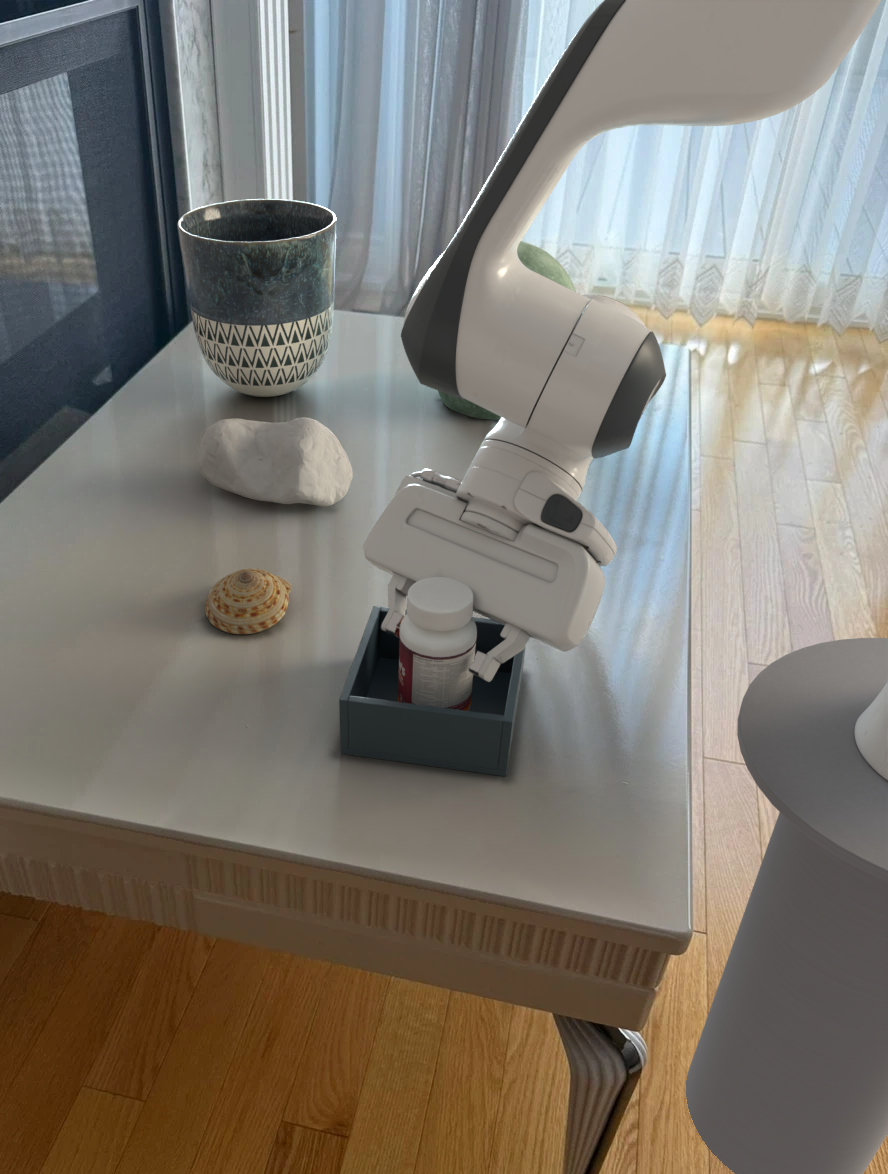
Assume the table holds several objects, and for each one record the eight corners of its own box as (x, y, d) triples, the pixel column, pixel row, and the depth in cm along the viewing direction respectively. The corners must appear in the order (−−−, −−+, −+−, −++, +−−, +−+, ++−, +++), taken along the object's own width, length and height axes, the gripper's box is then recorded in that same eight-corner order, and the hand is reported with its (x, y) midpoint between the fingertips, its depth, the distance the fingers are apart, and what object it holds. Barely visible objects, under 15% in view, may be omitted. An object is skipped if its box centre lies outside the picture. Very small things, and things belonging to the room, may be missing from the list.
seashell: (305, 569, 102) (277, 580, 95) (299, 625, 104) (272, 641, 96) (227, 556, 104) (194, 567, 97) (223, 612, 106) (190, 626, 98)
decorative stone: (367, 457, 120) (342, 406, 110) (344, 535, 117) (317, 490, 108) (232, 445, 125) (198, 396, 116) (208, 519, 123) (171, 475, 114)
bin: (522, 675, 92) (528, 622, 89) (506, 776, 82) (512, 722, 79) (373, 657, 95) (373, 605, 91) (340, 753, 85) (338, 699, 81)
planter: (245, 432, 132) (231, 252, 118) (169, 384, 144) (148, 216, 130) (368, 393, 140) (368, 222, 127) (287, 351, 152) (278, 191, 139)
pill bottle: (401, 682, 91) (403, 570, 83) (472, 686, 90) (481, 574, 83) (394, 727, 86) (396, 613, 79) (469, 733, 85) (478, 618, 78)
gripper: (396, 447, 86) (318, 597, 87) (614, 527, 75) (525, 697, 76) (427, 477, 91) (355, 618, 92) (636, 556, 81) (552, 715, 81)
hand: (433, 655), depth 84 cm, fingers open, 7 cm apart
